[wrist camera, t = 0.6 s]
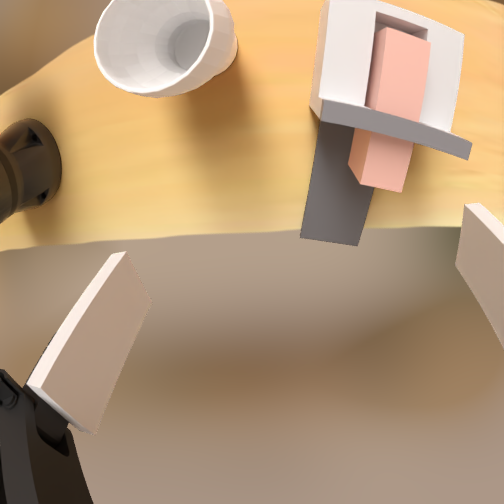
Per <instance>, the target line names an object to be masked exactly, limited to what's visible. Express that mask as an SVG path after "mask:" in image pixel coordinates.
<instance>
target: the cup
mask: <svg viewBox="0 0 504 504" xmlns="http://www.w3.org/2000/svg"><path fill="white" fill-rule="evenodd" d="M237 49H238V45H237V38H236V35H235V33H234V22H233V19H232V16H231V13H230V10H229V8H228V7H227V6H226V4H225V3H224V2H223V1H222V0H112V1H111V2H110V4H109V5H108V6H107V8H106V9H105V10H104V11H103V13H102V16H101V18H100V20H99V22H98V24H97V28H96V32H95V36H94V55H95V58H96V61H97V65H98V67H99V69H100V70H101V72H102V73H103V75H104V76H105V78H106V79H107V80H108V81H110V82H111V83H112V84H113V85H114V86H116V87H118V88H120V89H122V90H125V91H127V92H130V93H133V94H137V95H140V96H145V97H153V98H161V97H169V96H175V95H180V94H183V93H186V92H189V91H191V90H194V89H197V88H198V87H200V86H201V85H203V84H204V83H206V82H207V81H209V80H211V78H212V77H213V76H215V75H218V74H220V73H221V72H223V71H225V70H226V69H227V68H228V67H229V66H230V65H231V64H232V62H233V60H234V58H235V57H236V53H237Z"/></svg>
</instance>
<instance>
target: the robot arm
mask: <svg viewBox="0 0 504 504" xmlns="http://www.w3.org/2000/svg"><path fill="white" fill-rule="evenodd" d="M60 178H61V161H60V155H59V151H58V148H57V145H56V142H55V140H54V138H53V136H52V135H51V133H50V132H49V130H48V129H47V128H46V127H45V126H44V125H43V124H42V123H40V122H39V121H37V120H34V119H24V120H21V121H18V122H16V123H14V124H12V125H10V126H9V127H8V128H7V129H6V130H4V131H3V132H2V133H1V134H0V224H1V223H2V222H3V221H5V220H6V219H7V218H8V217H10V216H11V215H12V214H14V213H17V212H21V211H25V210H29V209H33V208H37V207H39V206H41V205H43V204H44V203H46V202H47V201H48V200H50V199H51V198H52V197H53V196H54V195H55V193H56V191H57V189H58V187H59V183H60ZM455 266H456V267H457V269H458V270H459V272H460V273H461V275H462V276H463V278H464V279H465V281H466V283H467V284H468V286H469V287H470V289H471V291H472V292H473V294H474V295H475V297H476V299H477V300H478V302H479V304H480V306H481V307H482V309H483V311H484V313H485V314H486V316H487V318H488V320H489V322H490V324H491V325H492V327H493V329H494V331H495V333H496V335H497V337H498V339H499V341H500V343H501V345H502V347H503V349H504V225H503V224H502V223H501V222H500V221H499V220H498V219H496V218H495V217H494V216H493V215H492V214H491V213H490V212H489V211H488V210H487V209H486V208H485V207H484V206H482V205H481V204H480V203H473V204H464V213H463V221H462V228H461V235H460V241H459V247H458V253H457V258H456V263H455ZM151 304H152V301H151V299H150V298H149V295H148V294H147V292H146V290H145V288H144V286H143V284H142V282H141V280H140V278H139V276H138V274H137V272H136V270H135V268H134V266H133V264H132V262H131V260H130V258H129V256H128V254H127V252H120V253H114V254H112V255H111V256H110V257H109V259H108V260H107V261H106V262H105V264H104V265H103V267H102V268H101V269H100V270H99V272H98V273H97V275H96V276H95V277H94V279H93V280H92V281H91V283H90V284H89V285H88V287H87V288H86V290H85V291H84V292H83V294H82V295H81V297H80V298H79V300H78V301H77V302H76V304H75V305H74V307H73V308H72V310H71V311H70V313H69V314H68V316H67V317H66V319H65V320H64V322H63V324H62V325H61V326H60V328H59V330H58V331H57V332H56V333H55V334H54V336H53V337H52V339H51V340H50V342H49V344H48V347H46V349H45V350H44V352H43V355H42V356H41V357H40V359H39V361H38V362H37V364H36V366H35V367H34V369H33V371H32V372H31V374H30V376H29V378H28V380H27V381H26V383H25V385H24V386H23V388H21V387H20V386H19V385H18V384H17V383H16V382H15V381H14V380H13V378H12V377H11V376H10V375H9V374H8V373H7V372H6V371H5V370H3V369H0V504H93V501H92V498H91V496H90V493H89V490H88V487H87V484H86V481H85V478H84V475H83V472H82V469H81V465H80V462H79V458H78V455H77V451H76V447H75V444H74V440H73V436H72V433H71V431H70V430H69V429H68V428H67V425H68V423H71V424H72V425H73V426H74V427H75V428H77V429H78V430H79V431H82V432H86V433H89V434H92V435H96V432H97V429H98V427H99V424H100V422H101V419H102V416H103V414H104V411H105V409H106V406H107V404H108V401H109V399H110V396H111V394H112V391H113V389H114V387H115V384H116V382H117V379H118V377H119V375H120V372H121V370H122V368H123V365H124V363H125V361H126V359H127V356H128V354H129V352H130V350H131V347H132V345H133V343H134V340H135V338H136V336H137V334H138V332H139V330H140V327H141V325H142V323H143V321H144V319H145V317H146V315H147V312H148V311H149V308H150V306H151Z"/></svg>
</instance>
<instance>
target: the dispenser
mask: <svg viewBox="0 0 504 504" xmlns="http://www.w3.org/2000/svg"><path fill="white" fill-rule="evenodd" d="M386 27H388V28H392V29H395V30H398V31H401V32H404V33H407V34H409V35H412V36H415V37H418V38H420V39H423V40H426V41H428V42H431V48H430V57H429V65H428V72H427V79H426V86H425V92H424V98H423V103H422V109H421V114H420V119H419V123H418V122H415V121H412V120H408V119H405V118H402V117H398V116H395V115H391V114H388V113H384V112H380V111H376V110H373V109H370V108H368V107H365V106H364V103H365V97H366V90H367V84H368V77H369V70H370V63H371V55H372V47H373V38H374V33H375V32H377V31H380V30H382V29H384V28H386ZM463 47H464V34H462V33H460V32H458V31H456V30H454V29H452V28H450V27H447V26H445V25H443V24H441V23H439V22H436V21H434V20H432V19H429V18H427V17H424V16H422V15H419V14H417V13H414V12H411V11H409V10H406V9H403V8H400V7H397V6H394V5H391V4H388V3H385V2H381V1H378V0H325V2H324V4H323V6H322V8H321V10H320V20H319V29H318V38H317V47H316V55H315V64H314V72H313V79H312V87H311V95H310V102H309V106H310V107H311V109H312V110H313V111H314V112H315V114H316V115H317V116H318V118H319V119H320V120H321V121H324V122H330V123H335V124H340V125H345V126H350V127H355V128H359V129H364V130H368V131H372V132H377V133H381V134H385V135H388V136H392V137H396V138H400V139H403V140H407V141H410V142H414V143H417V144H421V145H424V146H427V147H430V148H433V149H436V150H439V151H442V152H445V153H448V154H451V155H454V156H457V157H460V158H462V159H465V160H468V158H469V154H470V150H471V147H472V143H471V142H469V141H467V140H465V139H463V138H461V137H459V136H457V135H455V134H453V133H451V132H450V130H451V125H452V121H453V116H454V111H455V105H456V100H457V94H458V88H459V81H460V74H461V66H462V57H463Z"/></svg>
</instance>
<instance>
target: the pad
mask: <svg viewBox="0 0 504 504" xmlns="http://www.w3.org/2000/svg"><path fill="white" fill-rule="evenodd" d="M354 131H355V127H350V126H345V125H340V124H335V123H330V122H324V121H321V120H320V125H319V131H318V138H317V144H316V150H315V156H314V162H313V168H312V174H311V179H310V185H309V191H308V196H307V202H306V207H305V212H304V218H303V223H302V228H301V233H300V238H306V239H313V240H320V241H326V242H333V243H339V244H346V245H353V246H358V243H359V240H360V236H361V233H362V230H363V226H364V223H365V219H366V216H367V212H368V209H369V205H370V201H371V198H372V194H373V190H374V187H372V186H367V185H362V184H360V183H359V181H358V180H357V178H356V176H355V175H354V173H353V172H352V170H351V168H350V167H349V165H348V161H349V157H350V152H351V146H352V141H353V136H354Z"/></svg>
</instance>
